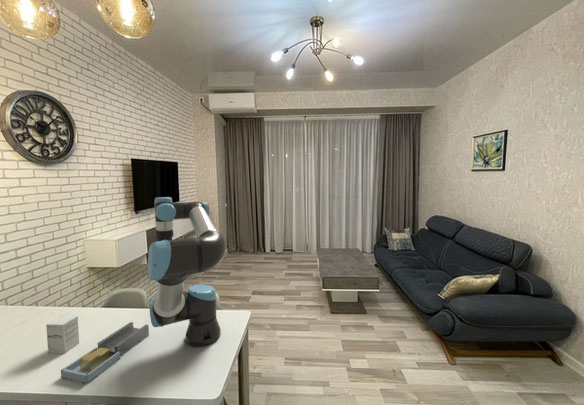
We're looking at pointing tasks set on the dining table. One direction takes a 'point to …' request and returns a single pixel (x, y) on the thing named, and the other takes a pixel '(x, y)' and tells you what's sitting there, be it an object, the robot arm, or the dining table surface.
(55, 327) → the supplement box
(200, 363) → the dining table surface
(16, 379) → the dining table surface
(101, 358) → the chip
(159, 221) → the robot arm
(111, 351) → the slot bed
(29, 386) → the dining table surface
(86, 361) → the yellow brown block
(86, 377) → the tray
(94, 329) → the dining table surface
